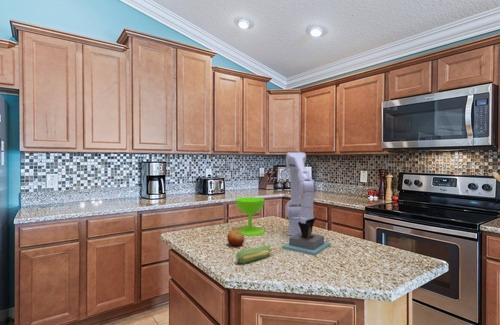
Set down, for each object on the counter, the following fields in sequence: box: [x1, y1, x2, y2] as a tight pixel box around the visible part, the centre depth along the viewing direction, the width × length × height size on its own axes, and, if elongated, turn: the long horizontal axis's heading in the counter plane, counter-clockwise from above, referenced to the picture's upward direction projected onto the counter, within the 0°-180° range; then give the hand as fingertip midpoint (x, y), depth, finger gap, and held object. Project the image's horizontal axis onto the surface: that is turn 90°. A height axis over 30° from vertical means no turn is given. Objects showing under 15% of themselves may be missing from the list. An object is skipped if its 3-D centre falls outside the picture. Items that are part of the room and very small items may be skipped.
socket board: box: [281, 232, 332, 256], centre depth 133 cm, size 18×16×4 cm
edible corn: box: [235, 244, 272, 265], centre depth 117 cm, size 5×20×5 cm
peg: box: [306, 227, 312, 239], centre depth 133 cm, size 4×4×8 cm
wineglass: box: [235, 197, 265, 237], centre depth 160 cm, size 16×16×18 cm
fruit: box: [226, 229, 245, 248], centre depth 136 cm, size 8×8×8 cm
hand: (306, 235), depth 133 cm, fingers open, 7 cm apart
